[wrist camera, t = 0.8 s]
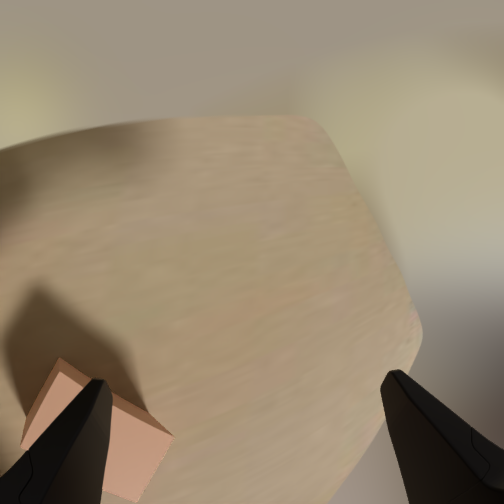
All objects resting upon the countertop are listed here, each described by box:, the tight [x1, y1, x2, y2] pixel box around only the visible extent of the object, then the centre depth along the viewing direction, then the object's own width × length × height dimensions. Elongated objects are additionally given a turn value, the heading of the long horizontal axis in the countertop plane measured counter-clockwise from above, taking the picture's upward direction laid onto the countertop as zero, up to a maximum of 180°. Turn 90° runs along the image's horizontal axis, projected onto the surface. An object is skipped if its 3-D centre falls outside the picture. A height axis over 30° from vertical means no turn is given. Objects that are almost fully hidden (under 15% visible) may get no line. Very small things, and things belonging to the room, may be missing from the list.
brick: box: [20, 357, 175, 503], centre depth 14 cm, size 5×7×5 cm
